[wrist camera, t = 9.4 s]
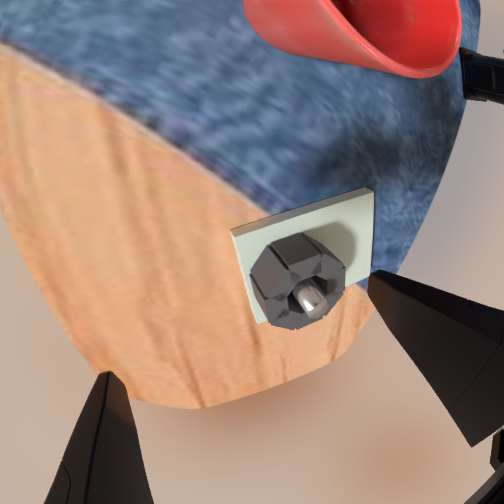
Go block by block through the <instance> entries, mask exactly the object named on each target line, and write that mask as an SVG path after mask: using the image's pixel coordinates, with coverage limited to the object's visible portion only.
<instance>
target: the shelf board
mask: <svg viewBox="0 0 504 504" xmlns="http://www.w3.org/2000/svg"><path fill="white" fill-rule="evenodd" d="M373 214H374V192H373V191H371V190H369V189H367V188H366V187H364V188H361V189H357V190H354V191H351V192H347V193H344V194H341V195H337V196H334V197H331V198H328V199H324V200H321V201H318V202H315V203H311V204H308V205H305V206H302V207H299V208H296V209H293V210H289V211H286V212H283V213H280V214H277V215H274V216H271V217H268V218H265V219H262V220H259V221H256V222H253V223H250V224H247V225H244V226H241V227H238V228H235V229H232V230H230V231H231V235H232V239H233V243H234V247H235V250H236V254H237V258H238V262H239V265H240V269H241V273H242V276H243V280H244V284H245V287H246V291H247V295H248V298H249V302H250V306H251V309H252V313H253V316H254V318H255V320H256V322H257V324H260V323H262V322H265V321H267V318H266V316H265V315H264V313H263V311H262V309H261V307H260V305H259V303H258V302H257V300H256V298H255V296H254V292H253V288H252V284H251V280H250V276H249V274H250V273H251V272H250V269H251V268H252V266H253V265H254V263H255V262H256V260H257V259H258V257H259V256H260V254H261V253H262V251H263V250H264V248H265V247H266V245H268V246H270V247H271V244H270V242H273V241H275V240H278V239H281V238H284V237H287V236H290V235H293V234H296V233H300V234H302V233H304V234H306V235H308V236H309V237H311V238H313V239H315V240H316V241H318V242H320V243H322V244H323V245H324V246H325V247H326V248H327V249H328V250H329V251H330V252H332V253H333V254H334V255H335V256H336V257H337V258H338V259H339V260H340V261H341V262H342V263H343V264H344V266H345V267H346V277H345V287H347V286H349V285H351V284H353V283H356V282H358V281H360V280H362V279H364V278H366V277H368V276H369V275H370V265H371V252H372V237H373Z"/></svg>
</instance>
